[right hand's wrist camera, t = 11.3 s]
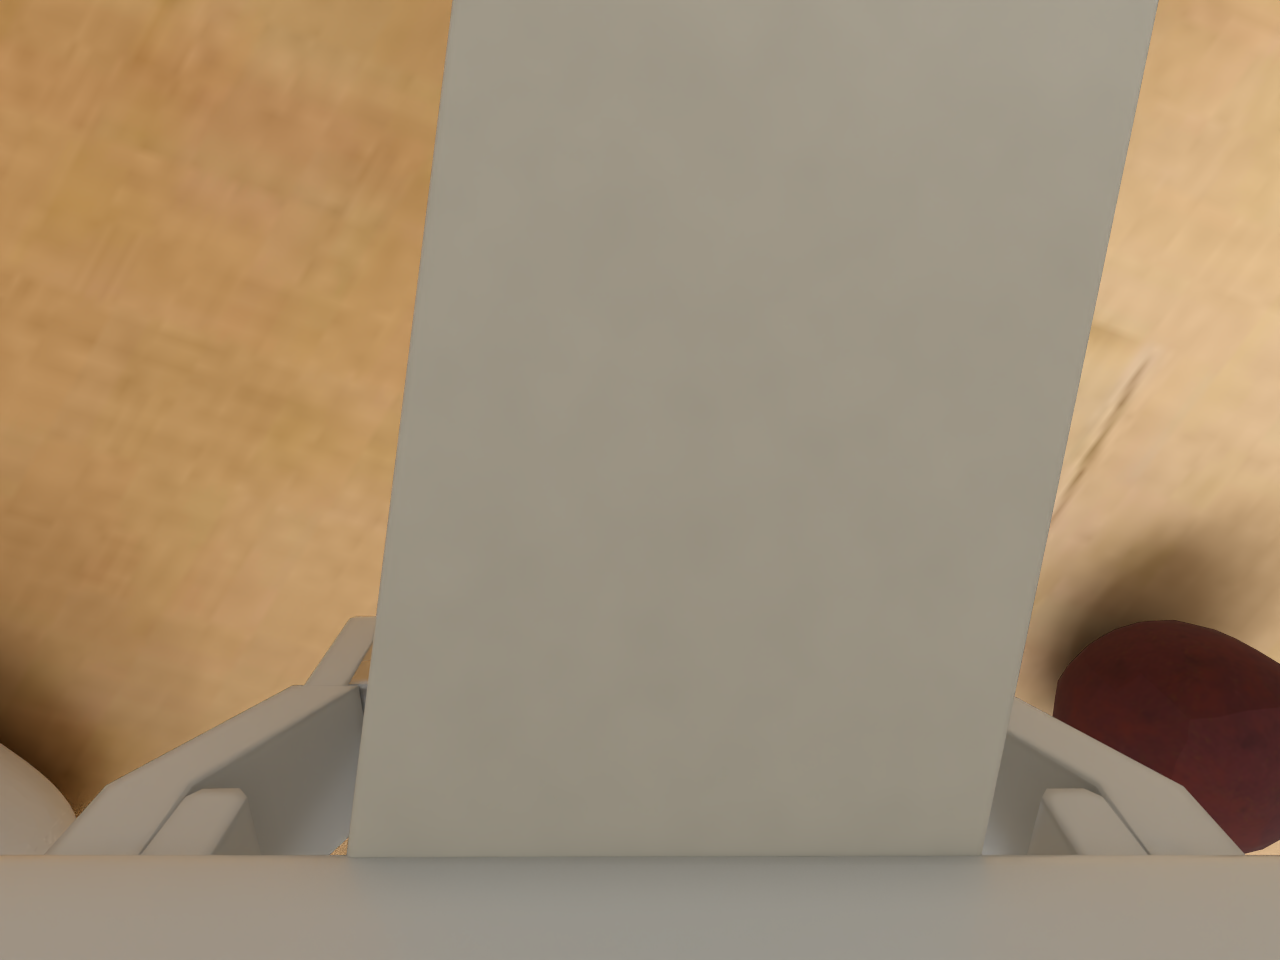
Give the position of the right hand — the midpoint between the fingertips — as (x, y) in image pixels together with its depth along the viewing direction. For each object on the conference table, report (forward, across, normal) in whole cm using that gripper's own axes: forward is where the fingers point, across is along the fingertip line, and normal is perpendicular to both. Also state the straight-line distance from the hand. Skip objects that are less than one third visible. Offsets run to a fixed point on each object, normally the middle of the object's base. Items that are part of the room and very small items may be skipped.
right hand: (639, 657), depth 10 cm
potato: (+15, -18, +11) cm, 26 cm away
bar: (+6, -1, -8) cm, 10 cm away
